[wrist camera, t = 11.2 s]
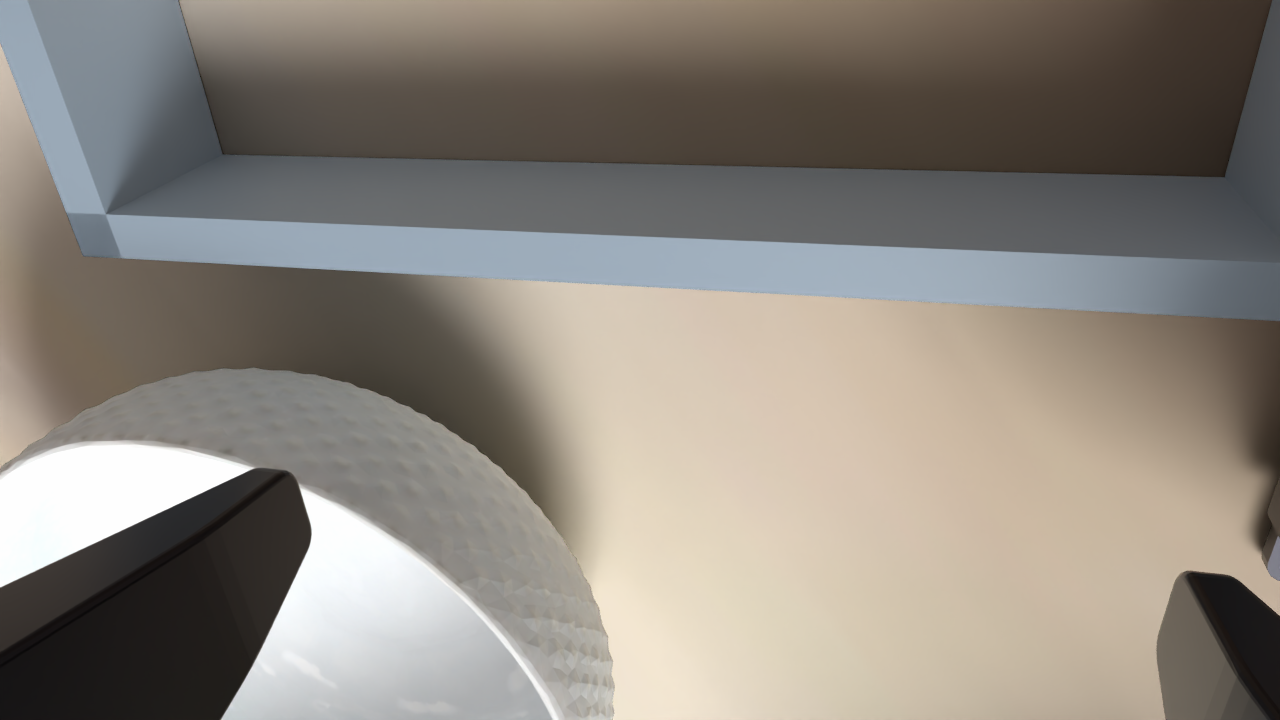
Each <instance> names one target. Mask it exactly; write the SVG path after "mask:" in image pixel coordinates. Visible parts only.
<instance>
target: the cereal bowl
mask: <svg viewBox="0 0 1280 720" xmlns="http://www.w3.org/2000/svg"><path fill="white" fill-rule="evenodd" d="M254 468H271V469H280V470H287V471H289V472H291V473H292V474H293V475H294V476H295V477H296V479H297V481H298V484H299V487H300V490H301V494H302V497H303V500H304V504H305V507H306V510H307V513H308V517H309V520H310V523H311V529H312V536H311V543H310V546H309V549H308V552H307V554H306V556H305V558H304V560H303V562H302V564H301V566H300V569H299V571H298V573H297V575H296V577H295V579H294V581H293V583H292V585H291V588H290V590H289V592H288V594H287V596H286V598H285V600H284V602H283V604H282V607H281V609H280V611H279V613H278V615H277V617H276V619H275V621H274V623H273V626H272V628H271V630H270V632H269V634H268V636H267V638H266V640H265V642H264V645H263V647H262V649H261V651H260V652H259V654H258V656H257V658H256V660H255V662H254V664H253V666H252V668H251V670H250V672H249V673H248V675H247V677H246V679H245V680H244V682H243V684H242V686H241V687H240V689H239V691H238V692H237V694H236V696H235V697H234V699H233V701H232V702H231V704H230V706H229V707H228V709H227V711H226V712H225V714H224V715H223V717H222V719H221V720H613V717H614V708H613V695H614V687H615V685H614V682H613V678H612V666H613V660H612V658H611V655H610V652H609V650H608V636H607V633H606V631H605V629H604V627H603V625H602V621H601V616H600V610H599V607H598V605H597V603H596V601H595V600H594V598H593V595H592V591H591V587H590V585H589V583H588V582H587V580H586V579H585V577H584V576H583V573H582V570H581V568H580V565H579V564H578V562H577V559H576V558H575V557H574V556H573V555H572V554H571V553H570V551H569V549H568V547H567V545H566V544H565V541H564V539H563V537H562V536H561V535H560V534H559V533H558V532H557V530H556V529H555V527H554V526H553V525H552V524H551V522H550V521H549V519H548V518H547V517H546V516H544V514H543V512H542V510H541V509H540V507H538V506H537V505H536V504H535V503H534V502H533V500H532V499H531V498H530V497H529V495H528V494H527V492H526V491H524V490H523V489H522V488H520V487H519V486H518V485H517V483H516V482H515V481H514V480H513V479H511V478H510V477H509V476H507V475H506V473H505V472H504V471H503V469H502V468H501V467H499V466H498V465H496V464H494V463H492V462H491V460H490V459H489V458H488V457H487V456H486V455H484V454H482V453H480V452H479V451H478V450H477V449H476V447H475V446H474V445H472V444H470V443H468V442H466V441H464V440H462V439H461V438H460V437H459V436H458V435H457V434H455V433H452V432H450V431H449V430H448V429H447V428H446V427H445V426H444V425H443V424H440V423H438V422H435V421H432V420H431V419H430V418H429V417H427V416H426V415H425V414H421V413H417V412H415V411H414V410H413V409H412V408H411V407H409V406H405V405H402V404H399V403H397V402H396V401H394V400H392V399H391V398H389V397H386V396H381V395H379V394H378V393H376V392H373V391H370V390H368V389H364V388H358V387H356V386H355V385H353V384H351V383H349V382H341V381H339V380H332V379H329V378H327V377H321V376H318V375H316V374H300V373H296V372H293V371H282V370H263V369H259V368H247V369H239V370H237V369H228V368H221V369H216V370H212V371H198V372H196V371H193V372H190V373H187V374H184V375H180V376H174V377H167V378H164V379H162V380H159V381H156V382H154V383H149V384H143V385H139V386H137V387H135V388H134V389H132V390H130V391H128V392H126V393H123V394H119V395H116V396H113V397H112V398H109V399H108V400H106V401H105V402H104V403H102V404H100V405H98V406H95V407H92V408H88V409H85V410H83V411H82V412H80V413H79V414H78V415H77V416H76V417H75V418H73V419H72V420H71V421H70V422H67V423H65V424H63V425H60V426H58V427H56V428H54V429H53V430H52V431H51V432H50V433H48V434H47V435H46V436H45V437H44V438H42V439H40V440H38V441H36V442H34V443H32V444H30V445H29V446H28V447H27V448H26V449H25V450H24V451H23V452H22V453H21V454H20V455H19V456H17V457H15V458H14V459H12V460H10V461H9V462H7V463H5V464H4V465H3V466H2V467H1V468H0V587H2V586H4V585H6V584H8V583H11V582H13V581H15V580H17V579H19V578H21V577H23V576H25V575H28V574H30V573H32V572H34V571H36V570H38V569H40V568H43V567H45V566H47V565H49V564H51V563H53V562H55V561H57V560H60V559H62V558H64V557H66V556H68V555H70V554H72V553H74V552H77V551H79V550H81V549H83V548H85V547H87V546H89V545H92V544H94V543H96V542H98V541H100V540H102V539H104V538H106V537H109V536H111V535H113V534H115V533H117V532H119V531H121V530H123V529H126V528H128V527H130V526H132V525H134V524H136V523H138V522H141V521H143V520H145V519H147V518H149V517H151V516H153V515H155V514H158V513H160V512H162V511H164V510H166V509H168V508H170V507H172V506H175V505H177V504H179V503H181V502H183V501H185V500H187V499H190V498H192V497H194V496H196V495H198V494H200V493H202V492H204V491H207V490H209V489H211V488H213V487H215V486H217V485H219V484H221V483H224V482H226V481H228V480H230V479H232V478H234V477H236V476H239V475H241V474H243V473H245V472H247V471H249V470H251V469H254Z"/></svg>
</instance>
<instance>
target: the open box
mask: <svg viewBox="0 0 1280 720" xmlns="http://www.w3.org/2000/svg"><path fill="white" fill-rule="evenodd" d="M0 43H1V46H2V49H3V51H4V54H5V56H6V59H7V61H8V64H9V67H10V69H11V72H12V74H13V77H14V79H15V82H16V85H17V87H18V90H19V92H20V95H21V98H22V100H23V103H24V105H25V108H26V110H27V113H28V116H29V118H30V121H31V123H32V126H33V128H34V131H35V134H36V136H37V139H38V141H39V144H40V147H41V149H42V152H43V154H44V157H45V159H46V162H47V165H48V167H49V170H50V172H51V175H52V177H53V180H54V183H55V185H56V188H57V190H58V193H59V195H60V198H61V201H62V203H63V206H64V208H65V211H66V214H67V216H68V219H69V221H70V224H71V226H72V229H73V232H74V234H75V237H76V239H77V242H78V244H79V247H80V250H81V252H82V255H83V256H88V257H106V258H124V259H143V260H161V261H180V262H198V263H217V264H235V265H254V266H272V267H290V268H309V269H327V270H346V271H364V272H383V273H401V274H420V275H438V276H456V277H475V278H493V279H512V280H530V281H549V282H567V283H586V284H604V285H622V286H641V287H659V288H678V289H696V290H715V291H733V292H751V293H770V294H788V295H807V296H825V297H844V298H862V299H881V300H899V301H917V302H936V303H954V304H973V305H991V306H1010V307H1028V308H1047V309H1065V310H1083V311H1102V312H1120V313H1139V314H1157V315H1176V316H1194V317H1213V318H1231V319H1249V320H1268V321H1280V0H1272V3H1271V7H1270V11H1269V14H1268V18H1267V22H1266V25H1265V29H1264V33H1263V37H1262V40H1261V44H1260V48H1259V51H1258V55H1257V59H1256V63H1255V66H1254V70H1253V74H1252V77H1251V81H1250V85H1249V89H1248V92H1247V96H1246V100H1245V103H1244V107H1243V111H1242V115H1241V118H1240V122H1239V126H1238V129H1237V133H1236V137H1235V141H1234V144H1233V148H1232V152H1231V155H1230V159H1229V163H1228V166H1227V170H1226V174H1225V177H1196V176H1152V175H1107V174H1063V173H1019V172H975V171H931V170H887V169H843V168H798V167H754V166H710V165H666V164H622V163H578V162H534V161H489V160H445V159H401V158H357V157H313V156H269V155H225V154H222V150H221V147H220V143H219V140H218V136H217V133H216V130H215V126H214V123H213V119H212V116H211V112H210V109H209V105H208V102H207V98H206V95H205V91H204V88H203V85H202V81H201V78H200V74H199V71H198V67H197V64H196V60H195V57H194V53H193V50H192V46H191V43H190V40H189V36H188V33H187V29H186V26H185V22H184V19H183V15H182V12H181V8H180V5H179V1H178V0H0Z"/></svg>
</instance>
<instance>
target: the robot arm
mask: <svg viewBox="0 0 1280 720" xmlns="http://www.w3.org/2000/svg"><path fill="white" fill-rule="evenodd" d="M1267 512H1268V517H1269V518H1270V520H1271V522H1272V526H1271V529H1270V531H1269V534H1268V537H1267V540H1266V542H1265V545H1264V548H1263V550H1262V560H1263V562H1264V564H1265V566H1266V568H1267V570H1268V572H1269V574H1270V575H1271V576H1272V577H1273V578H1275V579H1276V580H1278V581H1280V477H1279V480H1278V483H1277V486H1276V488H1275V491H1274V494H1273V497H1272V499H1271V502H1270V505H1269V508H1268V511H1267ZM311 536H312V529H311V523H310V520H309V517H308V513H307V510H306V507H305V504H304V500H303V497H302V494H301V490H300V487H299V484H298V481H297V479H296V477H295V476H294V475H293V474H292V473H291V472H289V471H287V470H280V469H271V468H254V469H251V470H249V471H247V472H245V473H243V474H241V475H239V476H236V477H234V478H232V479H230V480H228V481H226V482H224V483H221V484H219V485H217V486H215V487H213V488H211V489H209V490H207V491H204V492H202V493H200V494H198V495H196V496H194V497H192V498H190V499H187V500H185V501H183V502H181V503H179V504H177V505H175V506H172V507H170V508H168V509H166V510H164V511H162V512H160V513H158V514H155V515H153V516H151V517H149V518H147V519H145V520H143V521H141V522H138V523H136V524H134V525H132V526H130V527H128V528H126V529H123V530H121V531H119V532H117V533H115V534H113V535H111V536H109V537H106V538H104V539H102V540H100V541H98V542H96V543H94V544H92V545H89V546H87V547H85V548H83V549H81V550H79V551H77V552H74V553H72V554H70V555H68V556H66V557H64V558H62V559H60V560H57V561H55V562H53V563H51V564H49V565H47V566H45V567H43V568H40V569H38V570H36V571H34V572H32V573H30V574H28V575H25V576H23V577H21V578H19V579H17V580H15V581H13V582H11V583H8V584H6V585H4V586H2V587H0V720H221V719H222V717H223V715H224V714H225V712H226V711H227V709H228V707H229V706H230V704H231V702H232V701H233V699H234V697H235V696H236V694H237V692H238V691H239V689H240V687H241V686H242V684H243V682H244V680H245V679H246V677H247V675H248V673H249V672H250V670H251V668H252V666H253V664H254V662H255V660H256V658H257V656H258V654H259V652H260V651H261V649H262V647H263V645H264V642H265V640H266V638H267V636H268V634H269V632H270V630H271V628H272V626H273V623H274V621H275V619H276V617H277V615H278V613H279V611H280V609H281V607H282V604H283V602H284V600H285V598H286V596H287V594H288V592H289V590H290V588H291V585H292V583H293V581H294V579H295V577H296V575H297V573H298V571H299V569H300V566H301V564H302V562H303V560H304V558H305V556H306V554H307V552H308V549H309V546H310V543H311ZM1157 665H1158V671H1159V678H1160V685H1161V692H1162V698H1163V705H1164V712H1165V719H1166V720H1280V616H1279V615H1278V614H1277V613H1276V612H1274V611H1273V610H1272V609H1271V608H1270V607H1269V606H1268V605H1266V604H1265V603H1264V602H1263V601H1262V600H1261V599H1259V598H1258V597H1257V596H1256V595H1255V594H1254V593H1253V592H1251V591H1250V590H1249V589H1248V588H1247V587H1246V586H1245V585H1243V584H1242V583H1241V582H1240V581H1238V580H1237V579H1235V578H1234V577H1232V576H1229V575H1224V574H1215V573H1206V572H1197V571H1185V572H1183V573H1181V574H1180V575H1179V576H1178V577H1177V579H1176V580H1175V583H1174V586H1173V589H1172V592H1171V595H1170V598H1169V602H1168V605H1167V608H1166V611H1165V614H1164V618H1163V621H1162V624H1161V627H1160V630H1159V634H1158V639H1157Z"/></svg>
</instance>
